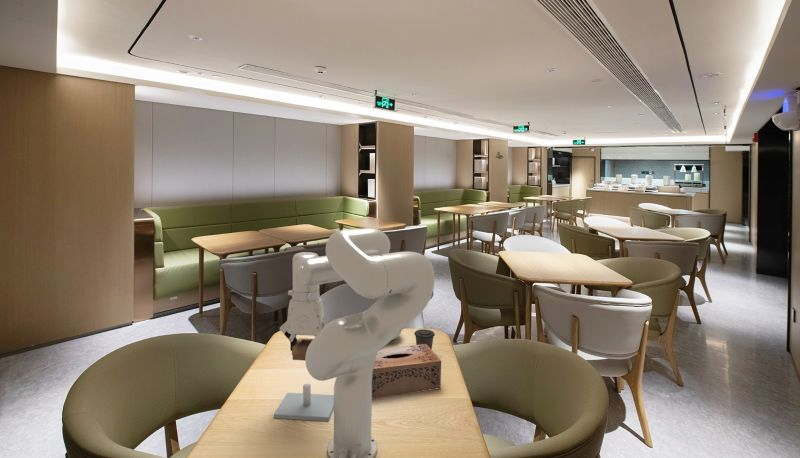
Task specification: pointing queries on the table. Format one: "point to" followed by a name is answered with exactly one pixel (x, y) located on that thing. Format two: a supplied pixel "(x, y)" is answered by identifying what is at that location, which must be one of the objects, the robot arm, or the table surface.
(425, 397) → the table surface
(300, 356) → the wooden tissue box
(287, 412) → the post board
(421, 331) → the coffee cup
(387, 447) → the table surface
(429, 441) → the table surface
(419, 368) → the tissue box cover
